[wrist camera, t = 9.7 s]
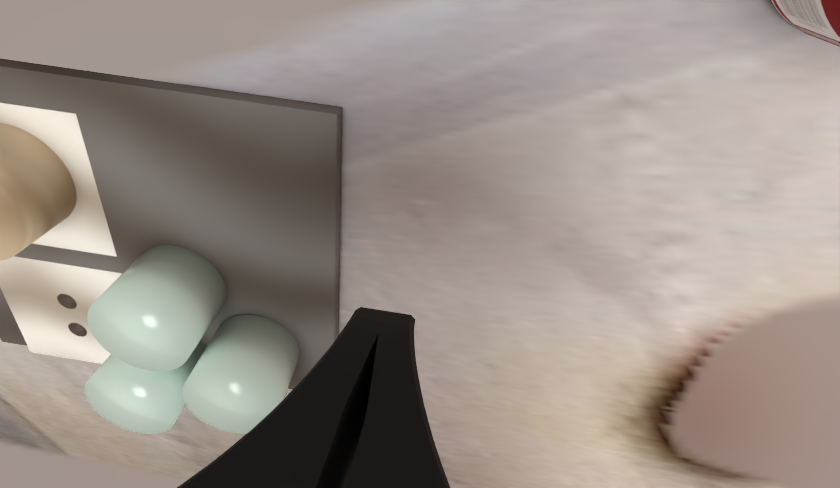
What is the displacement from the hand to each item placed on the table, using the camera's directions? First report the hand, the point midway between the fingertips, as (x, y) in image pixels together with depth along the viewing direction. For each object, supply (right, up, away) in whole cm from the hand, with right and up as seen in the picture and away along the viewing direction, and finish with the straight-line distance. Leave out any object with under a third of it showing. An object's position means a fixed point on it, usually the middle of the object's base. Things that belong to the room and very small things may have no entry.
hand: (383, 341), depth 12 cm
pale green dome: (-7, -3, +14) cm, 16 cm away
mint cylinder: (-11, +1, +12) cm, 16 cm away
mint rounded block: (-13, -3, +15) cm, 20 cm away
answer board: (-12, +2, +12) cm, 17 cm away
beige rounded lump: (-16, +5, +10) cm, 20 cm away
